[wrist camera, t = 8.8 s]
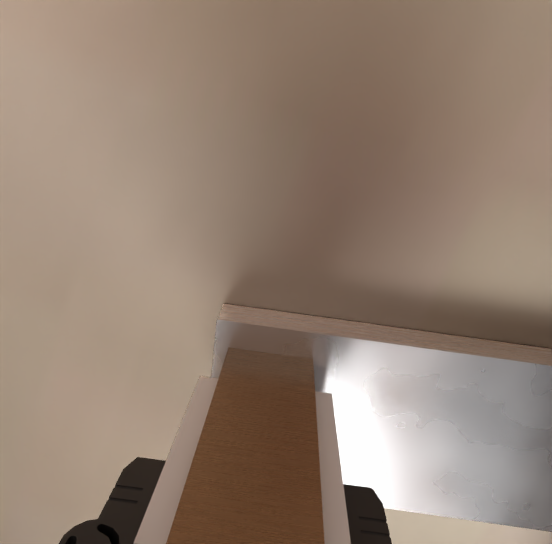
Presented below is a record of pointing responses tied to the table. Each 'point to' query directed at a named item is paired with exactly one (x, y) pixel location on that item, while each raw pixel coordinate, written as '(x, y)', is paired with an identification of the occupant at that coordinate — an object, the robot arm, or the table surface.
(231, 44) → the table surface
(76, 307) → the table surface
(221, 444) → the steel scraper
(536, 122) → the table surface
